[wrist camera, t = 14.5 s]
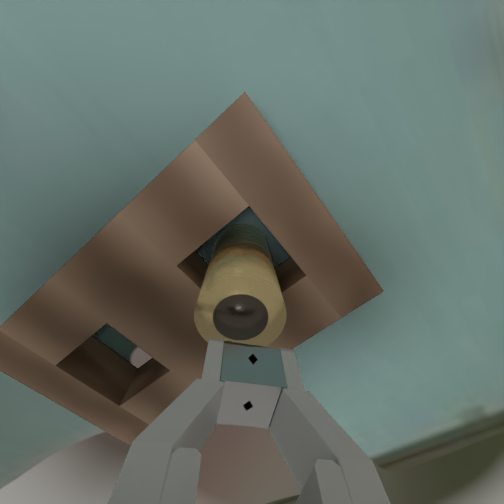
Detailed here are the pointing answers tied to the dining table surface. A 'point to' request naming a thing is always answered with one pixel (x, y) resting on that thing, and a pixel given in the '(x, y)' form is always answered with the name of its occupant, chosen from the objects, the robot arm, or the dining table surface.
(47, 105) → the dining table surface
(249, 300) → the brass sleeve
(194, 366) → the walnut block
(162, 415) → the robot arm
